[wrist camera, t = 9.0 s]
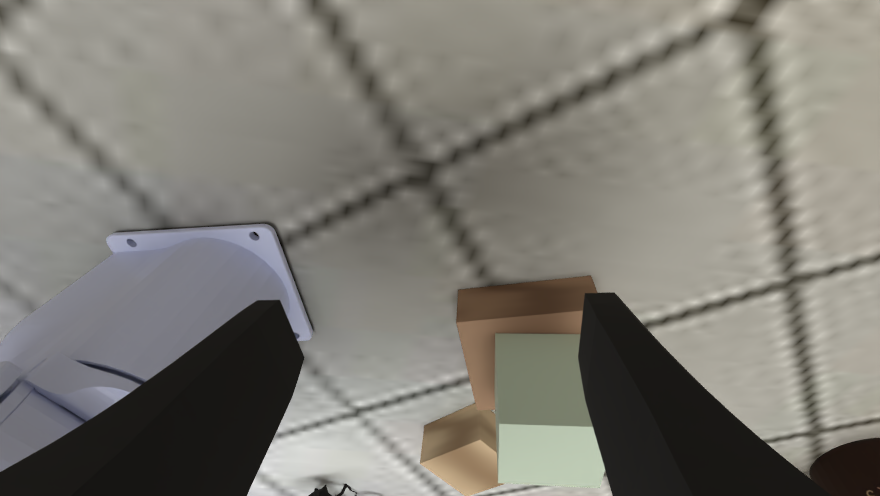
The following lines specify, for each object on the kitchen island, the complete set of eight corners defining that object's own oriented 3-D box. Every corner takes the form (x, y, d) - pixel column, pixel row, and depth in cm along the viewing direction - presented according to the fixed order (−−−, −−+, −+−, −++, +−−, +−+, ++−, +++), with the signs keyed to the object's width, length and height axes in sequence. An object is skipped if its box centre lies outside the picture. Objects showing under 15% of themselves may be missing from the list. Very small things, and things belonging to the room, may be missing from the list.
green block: (494, 391, 23) (497, 483, 19) (495, 333, 20) (499, 423, 16) (577, 393, 22) (599, 488, 18) (587, 334, 20) (616, 427, 16)
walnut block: (477, 370, 26) (477, 410, 24) (458, 285, 23) (456, 322, 20) (589, 361, 25) (602, 403, 23) (589, 270, 21) (603, 308, 19)
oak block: (467, 455, 31) (466, 496, 29) (424, 422, 30) (419, 463, 27) (521, 434, 29) (525, 476, 27) (479, 398, 28) (480, 439, 25)
